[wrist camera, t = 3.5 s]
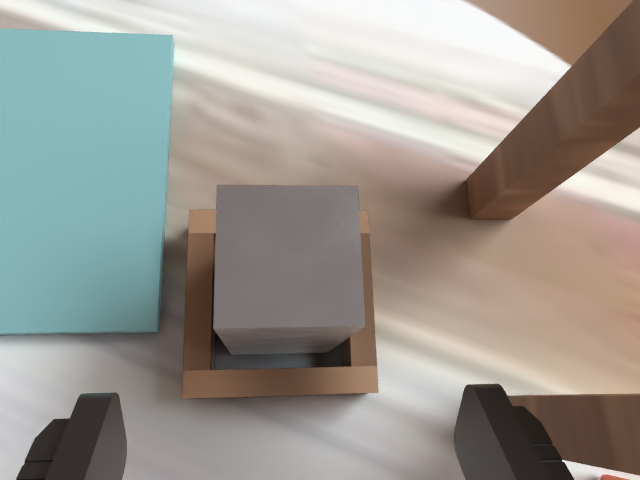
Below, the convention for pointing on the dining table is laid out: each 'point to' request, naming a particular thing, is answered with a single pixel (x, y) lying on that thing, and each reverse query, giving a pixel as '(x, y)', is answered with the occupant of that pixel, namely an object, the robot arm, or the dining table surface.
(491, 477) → the robot arm
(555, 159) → the walnut stand
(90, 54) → the teal mat
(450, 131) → the dining table surface
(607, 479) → the cracker box
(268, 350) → the steel bar
